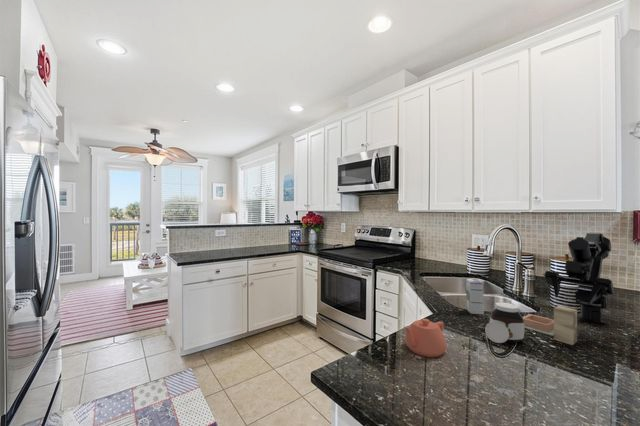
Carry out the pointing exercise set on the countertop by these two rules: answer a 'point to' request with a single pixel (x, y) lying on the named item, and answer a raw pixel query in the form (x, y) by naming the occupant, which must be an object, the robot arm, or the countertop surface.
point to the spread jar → (505, 324)
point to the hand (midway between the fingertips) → (571, 300)
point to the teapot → (426, 338)
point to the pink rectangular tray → (539, 324)
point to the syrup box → (474, 296)
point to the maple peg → (565, 325)
